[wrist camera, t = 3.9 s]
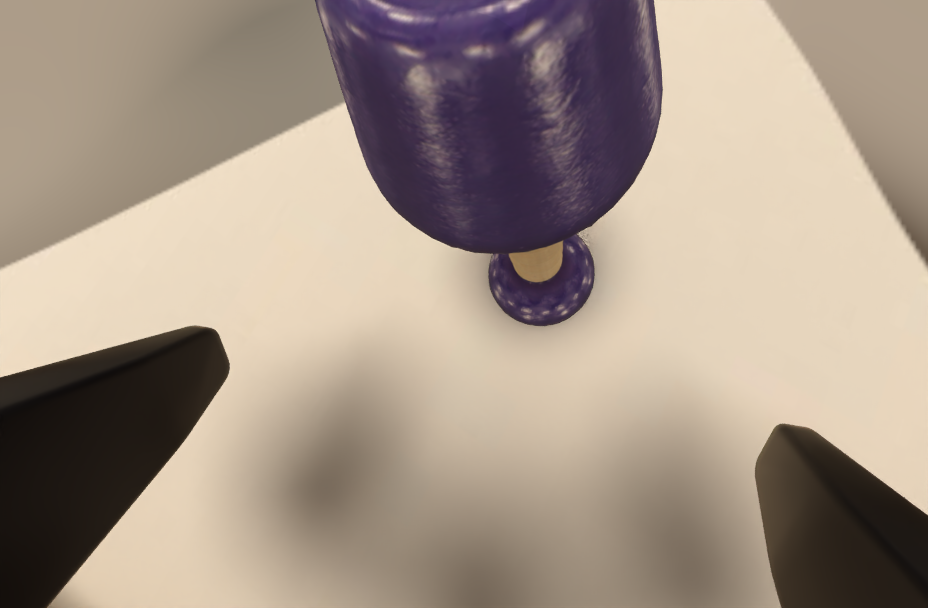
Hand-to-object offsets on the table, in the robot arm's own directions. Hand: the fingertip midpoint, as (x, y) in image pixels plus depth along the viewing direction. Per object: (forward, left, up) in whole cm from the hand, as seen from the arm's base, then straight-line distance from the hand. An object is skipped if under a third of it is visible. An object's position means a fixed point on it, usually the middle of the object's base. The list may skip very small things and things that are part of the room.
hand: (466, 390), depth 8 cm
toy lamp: (+4, -3, -12) cm, 13 cm away
